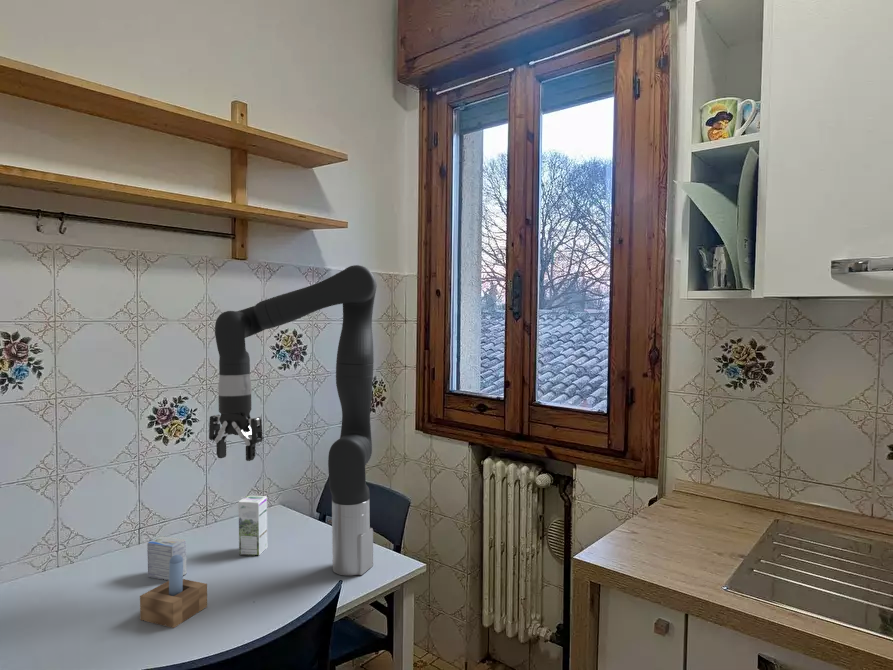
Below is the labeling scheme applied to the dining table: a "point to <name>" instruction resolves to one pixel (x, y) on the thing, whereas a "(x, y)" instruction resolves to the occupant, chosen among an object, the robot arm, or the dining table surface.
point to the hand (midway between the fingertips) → (235, 459)
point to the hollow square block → (173, 603)
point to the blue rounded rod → (175, 575)
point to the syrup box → (252, 525)
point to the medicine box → (164, 556)
